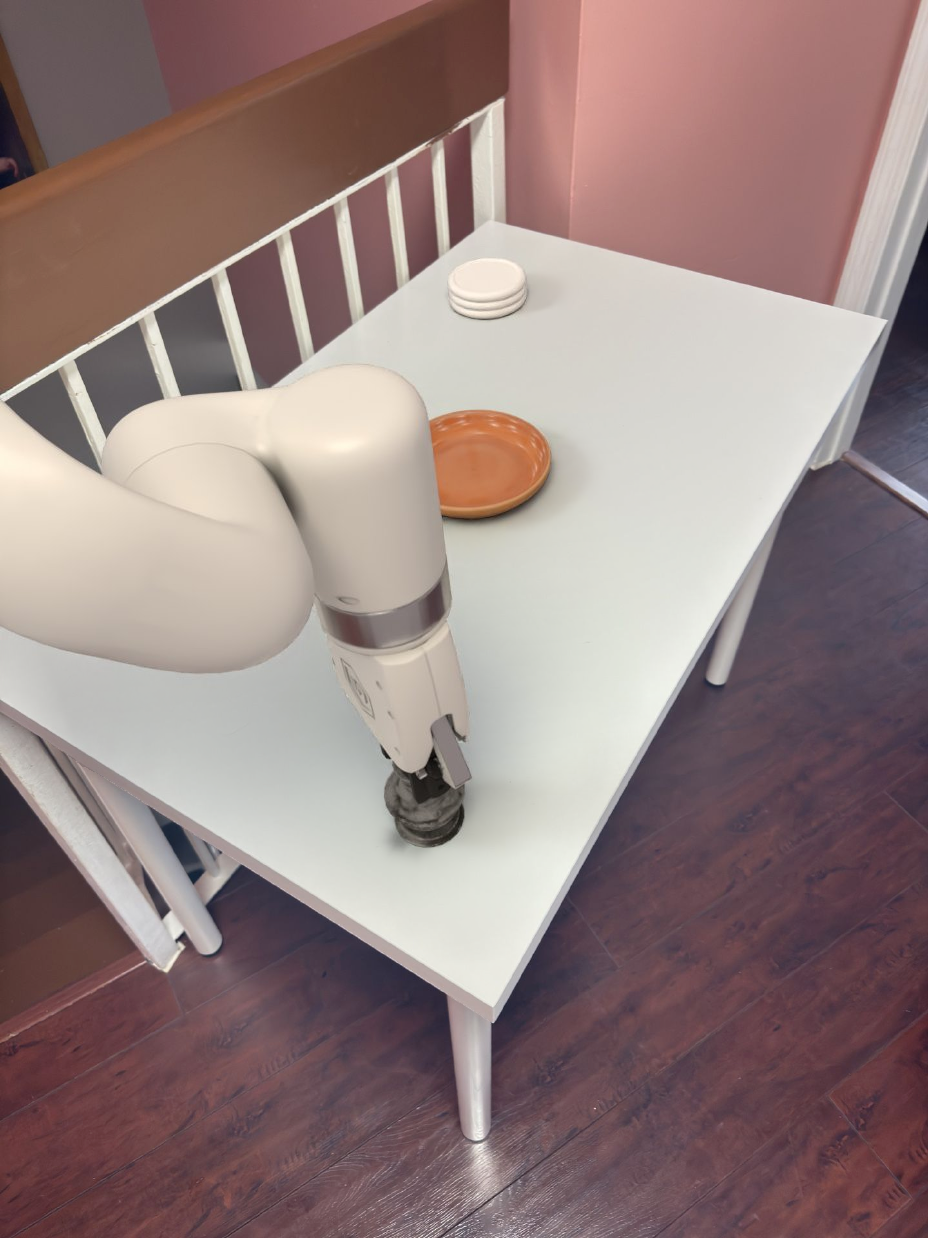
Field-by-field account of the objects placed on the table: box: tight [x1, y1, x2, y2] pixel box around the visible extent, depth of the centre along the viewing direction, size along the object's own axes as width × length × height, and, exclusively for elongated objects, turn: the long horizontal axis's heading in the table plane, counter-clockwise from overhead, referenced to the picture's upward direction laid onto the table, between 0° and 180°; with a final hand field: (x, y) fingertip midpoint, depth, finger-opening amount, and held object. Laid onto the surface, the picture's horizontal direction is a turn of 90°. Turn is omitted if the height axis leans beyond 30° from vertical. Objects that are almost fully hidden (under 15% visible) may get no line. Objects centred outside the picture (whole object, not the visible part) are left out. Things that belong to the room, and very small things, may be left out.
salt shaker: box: [383, 759, 466, 848], centre depth 64 cm, size 6×6×12 cm
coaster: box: [447, 257, 528, 320], centre depth 117 cm, size 10×10×4 cm
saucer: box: [429, 409, 552, 520], centre depth 93 cm, size 16×16×3 cm
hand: (419, 767), depth 63 cm, fingers closed on salt shaker, 3 cm apart
